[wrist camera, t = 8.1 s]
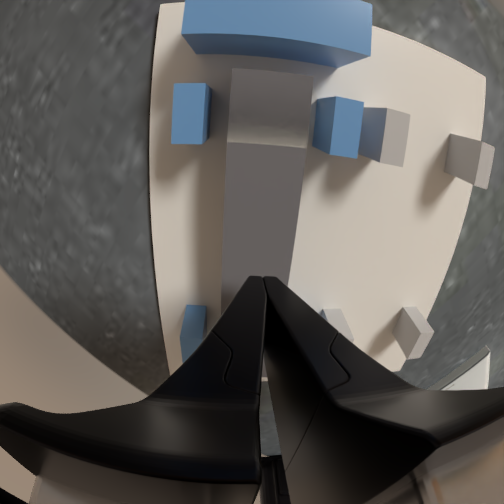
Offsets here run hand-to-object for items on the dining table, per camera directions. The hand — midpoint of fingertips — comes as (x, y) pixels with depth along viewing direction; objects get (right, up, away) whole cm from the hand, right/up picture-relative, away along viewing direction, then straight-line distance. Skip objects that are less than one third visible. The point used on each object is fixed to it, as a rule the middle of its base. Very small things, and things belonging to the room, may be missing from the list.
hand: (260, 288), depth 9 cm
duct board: (+3, +2, +4) cm, 6 cm away
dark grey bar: (0, +2, +4) cm, 4 cm away
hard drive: (+22, -14, +14) cm, 29 cm away
